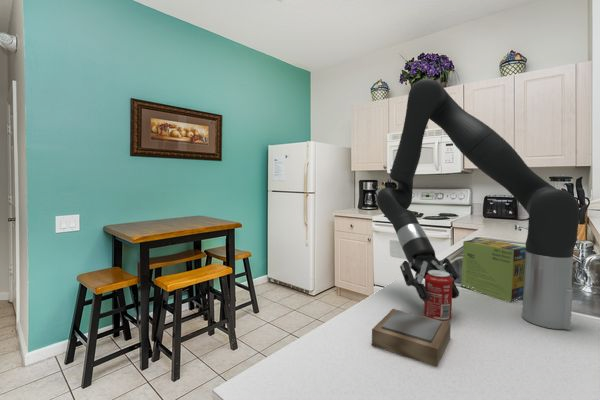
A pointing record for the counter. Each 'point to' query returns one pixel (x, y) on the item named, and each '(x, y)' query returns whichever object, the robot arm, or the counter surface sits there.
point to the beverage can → (438, 295)
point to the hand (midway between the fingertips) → (441, 298)
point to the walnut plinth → (412, 336)
